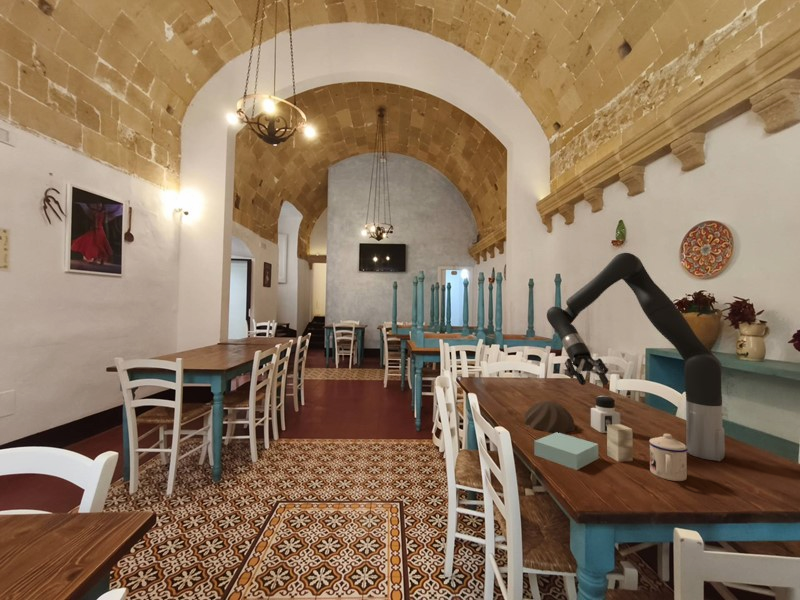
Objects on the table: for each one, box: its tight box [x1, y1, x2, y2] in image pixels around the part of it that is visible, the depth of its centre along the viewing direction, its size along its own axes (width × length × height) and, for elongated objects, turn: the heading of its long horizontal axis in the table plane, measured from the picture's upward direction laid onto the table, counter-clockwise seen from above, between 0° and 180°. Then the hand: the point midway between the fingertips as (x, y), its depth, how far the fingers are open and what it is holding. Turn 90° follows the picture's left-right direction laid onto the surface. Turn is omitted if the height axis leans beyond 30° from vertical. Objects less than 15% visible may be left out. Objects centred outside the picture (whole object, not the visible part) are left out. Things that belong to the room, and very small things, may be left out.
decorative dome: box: [524, 400, 576, 434], centre depth 151 cm, size 19×20×10 cm
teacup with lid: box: [648, 433, 688, 482], centre depth 105 cm, size 12×9×12 cm
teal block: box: [533, 432, 599, 471], centre depth 119 cm, size 14×14×5 cm
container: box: [590, 395, 621, 434], centre depth 146 cm, size 8×8×13 cm
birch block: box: [606, 423, 634, 462], centre depth 118 cm, size 5×5×10 cm
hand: (595, 384), depth 130 cm, fingers open, 8 cm apart
